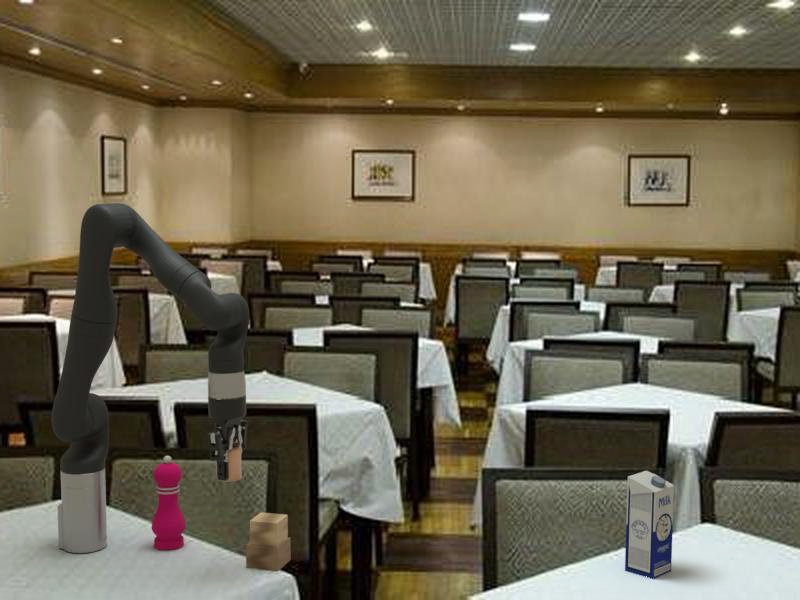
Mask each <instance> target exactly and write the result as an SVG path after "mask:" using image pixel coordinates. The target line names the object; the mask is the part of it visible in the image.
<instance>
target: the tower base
mask: <svg viewBox="0 0 800 600" xmlns="http://www.w3.org/2000/svg"><path fill="white" fill-rule="evenodd" d="M291 539H292V538H291V537H288V538H287V539H286V540H285V541H284V542H283V543H282V544H280V545H279V546H278V547H270V546H260V545H250V541H249V542H247V544H245V556H246V558H245V562H246V563H245V568H246V569H253V570H254V569H256V570H264V571H271V572H272V571H274V572H279V571H280V570H281V569H282V568H284V566H286V565H287V564H288V563H289V562H290V561H291V557H292V555H291V550H292V549H291V547H292V546H291V543H292V542H291Z"/></svg>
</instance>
